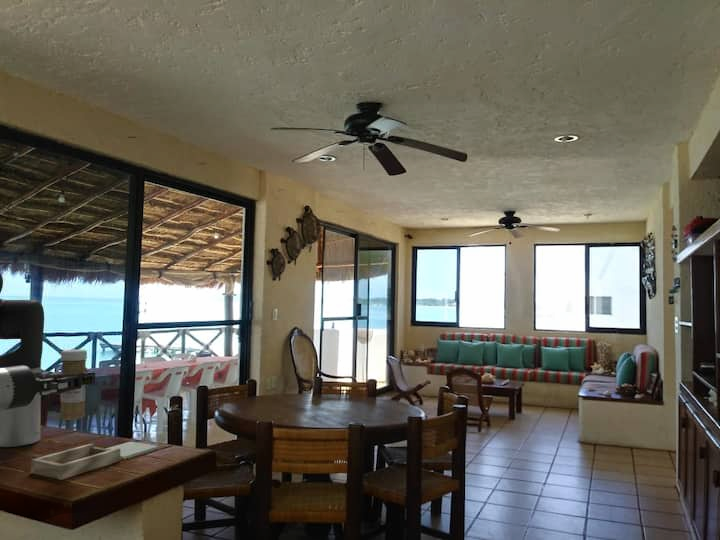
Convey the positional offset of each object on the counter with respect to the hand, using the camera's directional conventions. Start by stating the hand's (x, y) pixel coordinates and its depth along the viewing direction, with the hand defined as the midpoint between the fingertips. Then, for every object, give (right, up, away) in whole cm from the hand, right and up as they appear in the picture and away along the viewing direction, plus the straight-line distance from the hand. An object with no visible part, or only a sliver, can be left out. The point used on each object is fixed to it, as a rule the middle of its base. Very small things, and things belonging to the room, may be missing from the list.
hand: (85, 376), depth 116 cm
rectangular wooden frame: (-1, -18, -2) cm, 18 cm away
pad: (+5, -18, +8) cm, 20 cm away
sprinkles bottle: (-1, -8, -3) cm, 8 cm away
